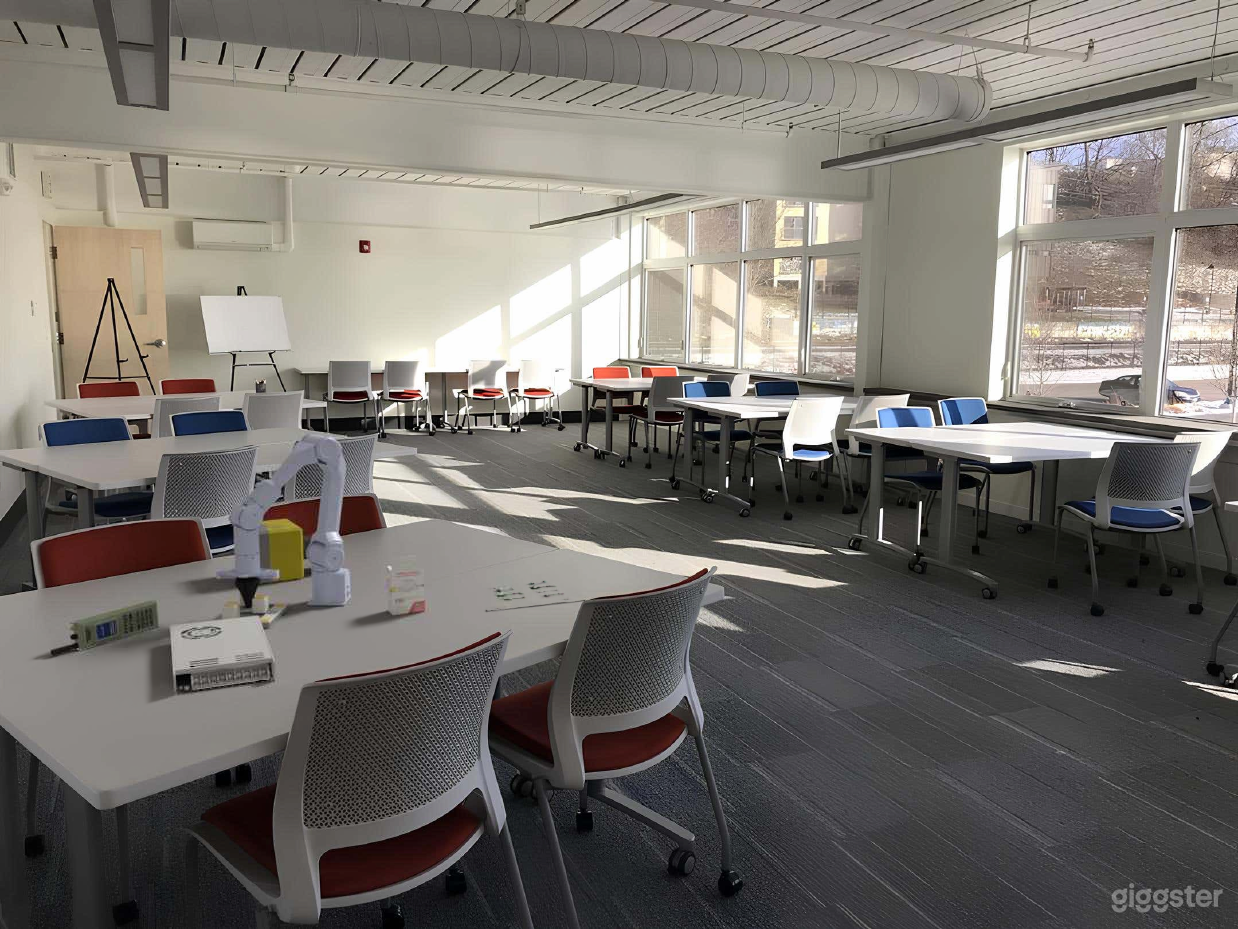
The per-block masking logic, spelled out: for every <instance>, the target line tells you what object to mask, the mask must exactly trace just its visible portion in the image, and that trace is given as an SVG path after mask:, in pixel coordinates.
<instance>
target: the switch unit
mask: <svg viewBox="0 0 1238 929" xmlns="http://www.w3.org/2000/svg"><path fill="white" fill-rule="evenodd" d="M289 609H290V603H284V602H282V603H279V602H278V603H269V610H268V611H267V612H266V613H253V609H252V607H251V608H245V606H240V603H239V611H240V617H249V616H259V618H260V621H261V623H262V626H263V629H270V628H272V626H273V625H274V624H275V623H276V622H277V621H278V620H279V619H280V618H281V617H282V616H283V615H284V614H285V613H286V612H287V611H288V610H289ZM285 611H286V612H285ZM282 614H283V615H282ZM240 617H239V618H240ZM214 620H223V619H222V612H221V613H219V615H217V616H216V617H215V618H214V619H213V620H212V621H214Z"/></svg>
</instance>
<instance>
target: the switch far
mask: <svg viewBox="0 0 1238 929" xmlns="http://www.w3.org/2000/svg"><path fill="white" fill-rule="evenodd" d="M256 595H257V592H256V593H255V596H256ZM239 604H240V606H245V604H244V601H243V598H242V595H241V593H240V592H239Z"/></svg>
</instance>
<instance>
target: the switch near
mask: <svg viewBox="0 0 1238 929" xmlns="http://www.w3.org/2000/svg"><path fill="white" fill-rule="evenodd" d="M239 604H240V602H238V601H227V602H225V603H224V604H223V605H222V606H221V613H222V619H231V618H239V617H240V611H239Z"/></svg>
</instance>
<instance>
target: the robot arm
mask: <svg viewBox="0 0 1238 929" xmlns="http://www.w3.org/2000/svg"><path fill="white" fill-rule="evenodd" d="M342 450H343V446H342V444H341V443H340V442H339V441H338V440H337V439H336V438H335V437H333V436H330V435H328V436H327V435H320V434H317V433H314V432H313V433H312V432H309V433H307V434H305V435H303V436H302V437H301V439H300V441H299V440H298V442H296V444H295V445H294V447H293V449H292V451H291V452H290V454H289V455H288V456H287V457H286V459H285V460H284V461H283V462H282V464H281V465H279V467H278V469H277V470H275V473H273V475H272V476H271V477H270V478H269V479H262V480H261V481H260V482H259V481H258V482H256V483H255V485H254V489H253V490H252V491H251V492H250V494H248V495H247V497H244V498H243V499H242V500H241V503H239V504H236V505H235V506H234V507H233V508H232V509H231V511H230V513H229V515H228V517H227V518H228V522H230V524H231V525H232V526H233V548H234V549H233V550H234V551H233V552H234V568H228V569H218V570H216V572H215V574H216V575H215V576H216V580H221V579H236V580H235V582H234V585H235V587H236V589H237V590H238V592H239V594H240V593H241V595H242V598H243V601H244V604H245V608H251V607H252V599H253V598H254V597H255V593H256V594H257V590H258V588H259V585H260V584H259V583H260V581H261V579H278V578H279V570H272V569H263V568H260V550H259V527H258V526H260V525H261V524H262V522H263V521H264V516H265V514H266V513H267V512H268V511H269V509H270V508H271V507H272V506H273V505H274V504H275V503H276V501H277V500H278V499H279V498H281V496H282V487H284V486H285V485H286V484H287V482H288V481H290V479H292V478H293V477H294V476H295V475H296V474H297V473H298V472H299V471H300V470H301V469H302V468H303V467H304V466H308V465H314V464H316V465H318V466H319V468H321V470H322V471H323V477H322V486H321V487H322V488H321V493H320V494H321V495H320V502H319V509H318V510H319V512H318V517H317V518H318V521H317V529H316V531H315V532H314V534H313V533H312V534H313V535H312V537H311V542H310V545H309V546H308V548H307V551H306V556H307V559H306V560H308V562H309V563H310V567H311V568H310V569H311V570H310V571H311V596H312V598H311V599H310V600H309V601H308V603H307V606H345V605H346V604H347V603H348V602H349V600H350V599H351V598H352V595H351V574H350V569H349V568H343V567H342V565H343V564H344V563H345V558H346V557H345V556H346V555H345V552H344V541H343V538H342V537H341V535H340V534H339V533H340V532H339V531H340V524H341V514H342V507H343V498H344V491H345V490H344V489H345V480H346V473H347V464H346V460H345V457H344V455H343V453H342Z"/></svg>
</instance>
